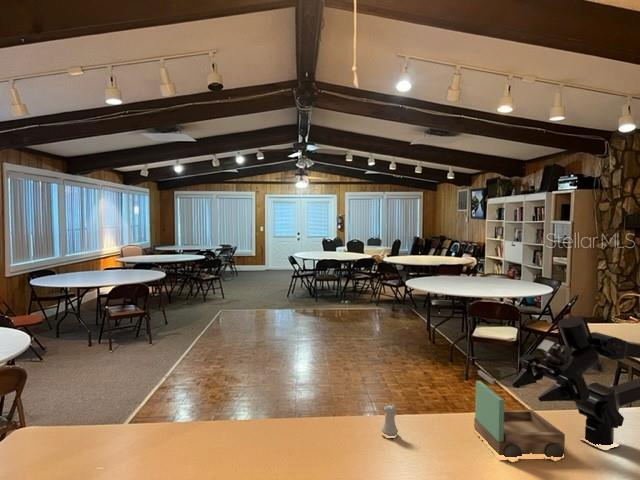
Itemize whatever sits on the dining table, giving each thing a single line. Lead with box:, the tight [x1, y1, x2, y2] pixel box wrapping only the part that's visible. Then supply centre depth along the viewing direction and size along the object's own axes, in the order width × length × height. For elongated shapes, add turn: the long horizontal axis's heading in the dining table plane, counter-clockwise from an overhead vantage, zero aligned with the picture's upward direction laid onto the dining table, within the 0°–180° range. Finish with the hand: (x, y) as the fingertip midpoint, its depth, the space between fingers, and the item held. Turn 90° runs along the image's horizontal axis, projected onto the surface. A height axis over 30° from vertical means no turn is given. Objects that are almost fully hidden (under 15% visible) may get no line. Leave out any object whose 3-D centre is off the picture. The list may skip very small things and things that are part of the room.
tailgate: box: [474, 369, 505, 442], centre depth 107 cm, size 2×13×14 cm, turn 3°
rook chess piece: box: [381, 403, 399, 436], centre depth 111 cm, size 4×4×8 cm
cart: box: [473, 409, 566, 457], centre depth 107 cm, size 16×16×6 cm
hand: (525, 392), depth 103 cm, fingers open, 9 cm apart
